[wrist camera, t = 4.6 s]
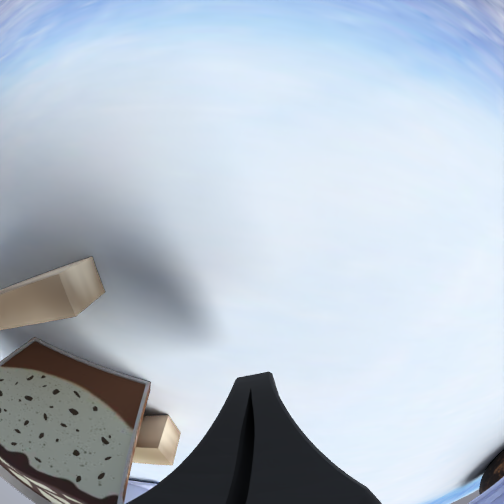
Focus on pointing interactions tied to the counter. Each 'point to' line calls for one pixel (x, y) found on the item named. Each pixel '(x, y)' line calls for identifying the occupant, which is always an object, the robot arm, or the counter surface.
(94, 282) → the pair of beige bars
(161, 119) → the counter surface
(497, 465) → the brown long-necked vase
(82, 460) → the food container
